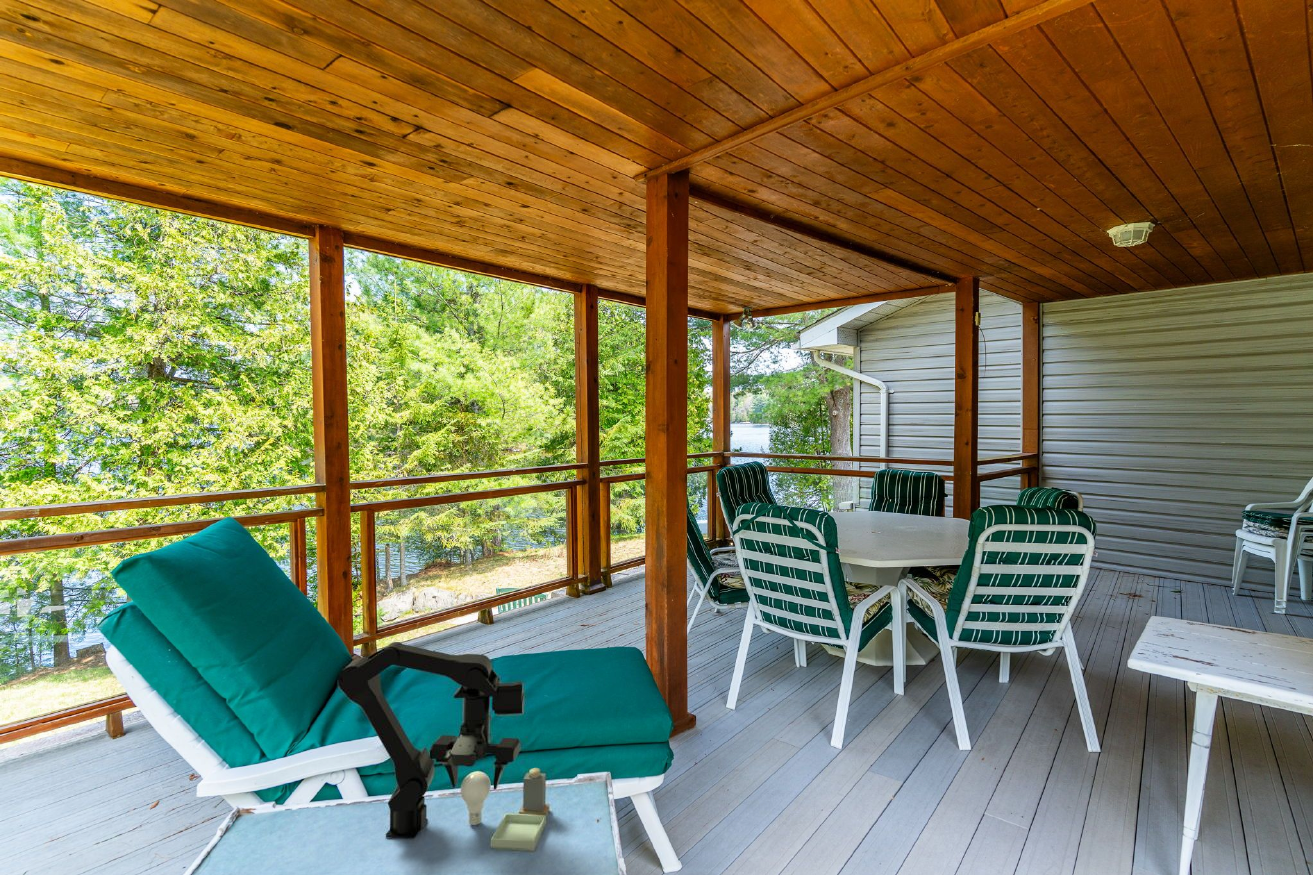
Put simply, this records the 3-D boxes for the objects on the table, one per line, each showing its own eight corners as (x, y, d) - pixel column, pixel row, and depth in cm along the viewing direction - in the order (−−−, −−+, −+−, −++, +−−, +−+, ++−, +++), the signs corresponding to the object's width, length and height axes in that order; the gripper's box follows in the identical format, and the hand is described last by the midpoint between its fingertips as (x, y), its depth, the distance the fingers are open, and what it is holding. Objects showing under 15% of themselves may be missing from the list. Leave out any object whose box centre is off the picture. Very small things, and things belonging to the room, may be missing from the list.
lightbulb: (481, 834, 128) (482, 782, 128) (454, 830, 129) (455, 778, 130) (495, 817, 134) (495, 767, 135) (469, 813, 136) (469, 764, 136)
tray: (490, 849, 123) (490, 839, 123) (505, 822, 132) (505, 813, 132) (534, 851, 123) (534, 841, 123) (545, 824, 132) (545, 815, 132)
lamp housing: (518, 818, 134) (519, 774, 134) (523, 809, 137) (524, 766, 138) (545, 819, 133) (545, 775, 134) (549, 810, 137) (549, 767, 137)
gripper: (418, 730, 125) (416, 806, 125) (505, 733, 124) (504, 811, 123) (441, 708, 136) (440, 778, 136) (521, 711, 135) (520, 782, 134)
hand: (475, 787), depth 132 cm, fingers open, 9 cm apart
